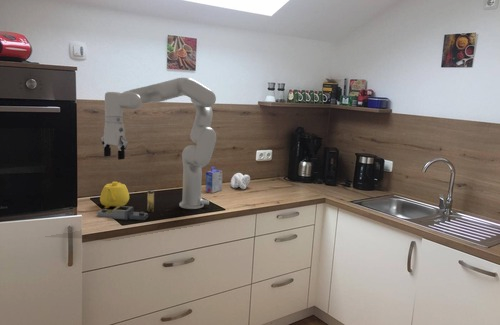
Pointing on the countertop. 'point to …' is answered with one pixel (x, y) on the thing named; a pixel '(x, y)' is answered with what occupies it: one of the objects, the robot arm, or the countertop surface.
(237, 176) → the white twisted lump
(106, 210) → the chain ends
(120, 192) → the teapot
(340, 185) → the countertop surface
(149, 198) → the pin
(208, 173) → the ink cartridge box
